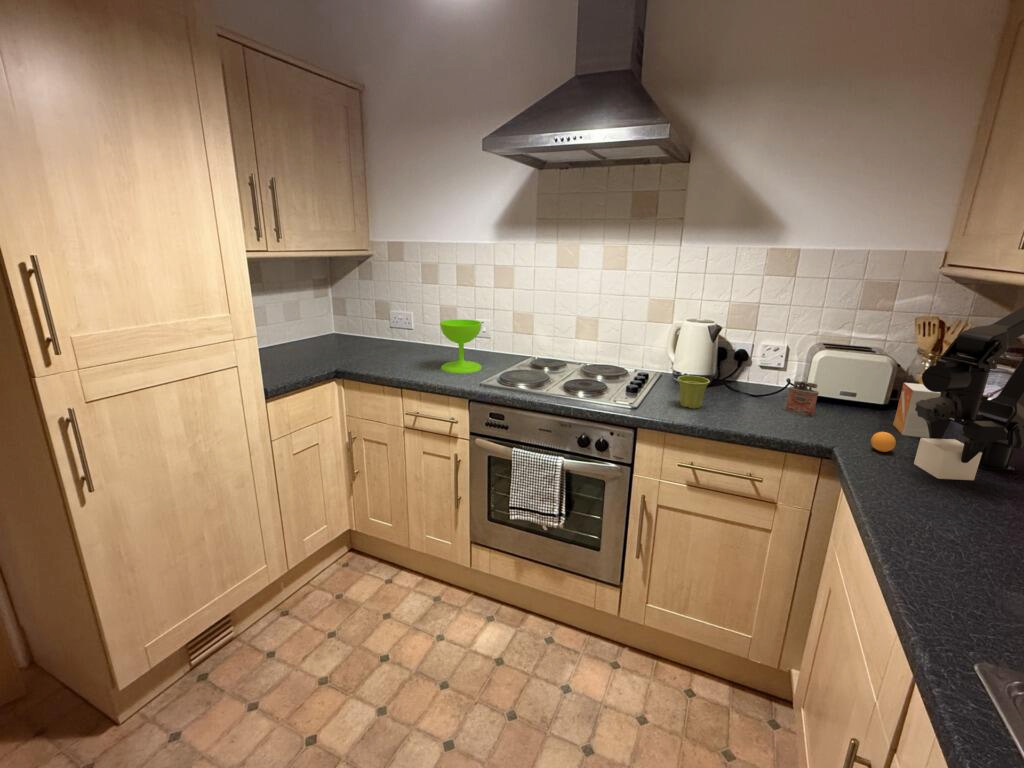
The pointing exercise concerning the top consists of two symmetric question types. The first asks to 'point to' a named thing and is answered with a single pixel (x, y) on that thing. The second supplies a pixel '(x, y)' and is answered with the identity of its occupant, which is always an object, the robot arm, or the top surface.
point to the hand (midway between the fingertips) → (948, 454)
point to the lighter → (802, 398)
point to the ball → (883, 441)
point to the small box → (912, 410)
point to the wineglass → (461, 343)
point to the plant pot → (692, 390)
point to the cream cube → (945, 459)
